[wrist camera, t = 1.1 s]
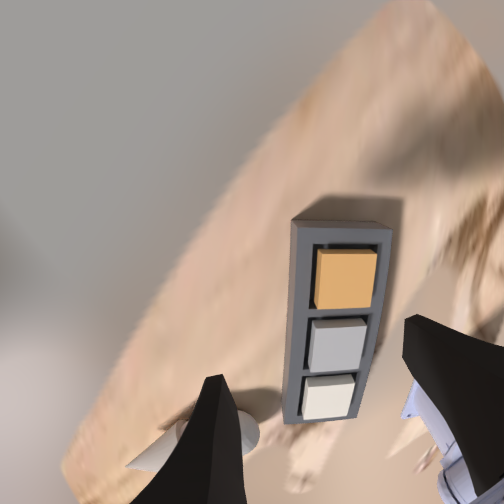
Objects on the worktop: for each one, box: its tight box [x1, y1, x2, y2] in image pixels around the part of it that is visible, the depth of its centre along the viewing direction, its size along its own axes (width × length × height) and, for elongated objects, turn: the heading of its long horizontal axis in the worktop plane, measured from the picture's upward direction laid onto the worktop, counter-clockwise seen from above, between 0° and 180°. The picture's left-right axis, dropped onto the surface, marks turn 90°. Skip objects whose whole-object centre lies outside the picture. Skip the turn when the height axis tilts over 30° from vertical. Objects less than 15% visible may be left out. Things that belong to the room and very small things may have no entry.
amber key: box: [314, 249, 377, 309], centre depth 19 cm, size 4×4×1 cm
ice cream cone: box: [125, 410, 260, 472], centre depth 24 cm, size 6×6×15 cm
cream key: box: [302, 374, 355, 420], centre depth 22 cm, size 4×4×1 cm
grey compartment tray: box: [281, 220, 393, 424], centre depth 22 cm, size 6×16×3 cm, turn 0°
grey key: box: [308, 318, 367, 372], centre depth 20 cm, size 4×4×1 cm
